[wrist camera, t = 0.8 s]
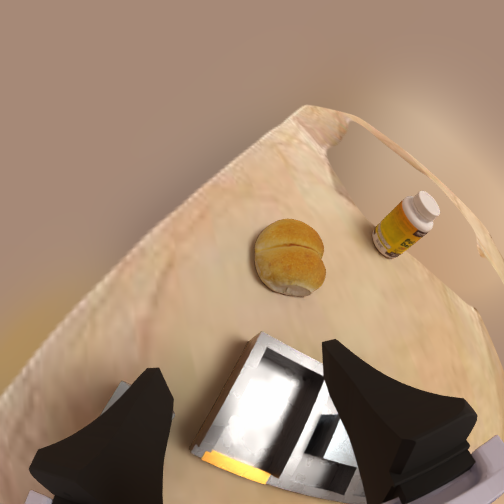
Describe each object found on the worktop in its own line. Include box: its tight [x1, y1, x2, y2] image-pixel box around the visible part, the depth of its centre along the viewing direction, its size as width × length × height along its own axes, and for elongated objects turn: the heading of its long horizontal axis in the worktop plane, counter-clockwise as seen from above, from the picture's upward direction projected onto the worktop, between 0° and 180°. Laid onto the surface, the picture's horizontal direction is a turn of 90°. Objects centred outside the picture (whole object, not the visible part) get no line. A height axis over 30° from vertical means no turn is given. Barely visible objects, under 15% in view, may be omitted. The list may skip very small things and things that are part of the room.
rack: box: [189, 331, 367, 504], centre depth 21 cm, size 12×22×6 cm, turn 63°
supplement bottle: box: [372, 191, 440, 258], centre depth 35 cm, size 6×6×10 cm
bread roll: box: [255, 219, 326, 296], centre depth 31 cm, size 8×9×4 cm
